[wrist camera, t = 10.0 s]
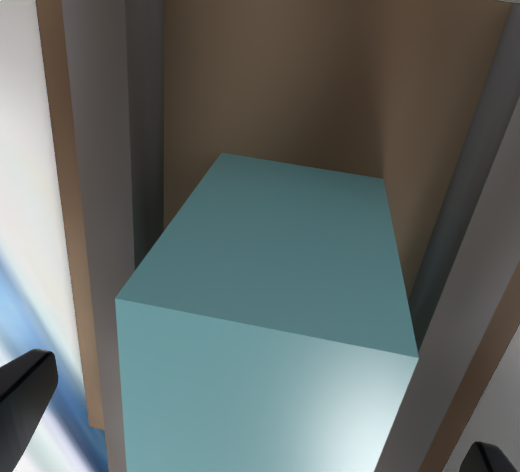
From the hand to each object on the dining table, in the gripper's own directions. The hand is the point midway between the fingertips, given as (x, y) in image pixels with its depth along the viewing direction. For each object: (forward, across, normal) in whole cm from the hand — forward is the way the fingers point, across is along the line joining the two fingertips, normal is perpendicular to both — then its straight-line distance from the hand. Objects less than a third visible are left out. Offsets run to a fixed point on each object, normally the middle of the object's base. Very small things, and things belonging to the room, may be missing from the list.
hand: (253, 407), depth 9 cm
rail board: (+5, 0, 0) cm, 5 cm away
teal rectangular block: (+4, 0, 0) cm, 4 cm away
